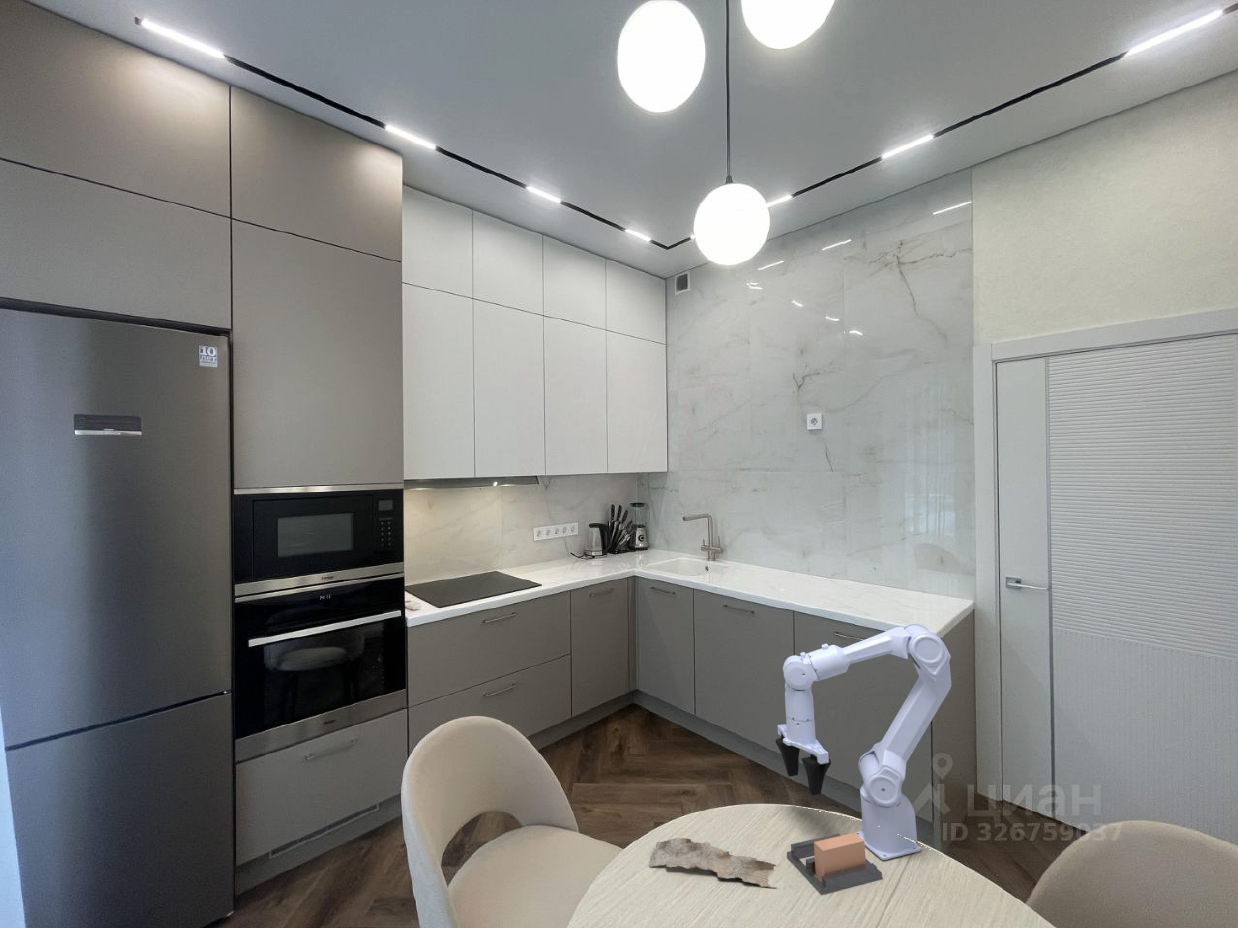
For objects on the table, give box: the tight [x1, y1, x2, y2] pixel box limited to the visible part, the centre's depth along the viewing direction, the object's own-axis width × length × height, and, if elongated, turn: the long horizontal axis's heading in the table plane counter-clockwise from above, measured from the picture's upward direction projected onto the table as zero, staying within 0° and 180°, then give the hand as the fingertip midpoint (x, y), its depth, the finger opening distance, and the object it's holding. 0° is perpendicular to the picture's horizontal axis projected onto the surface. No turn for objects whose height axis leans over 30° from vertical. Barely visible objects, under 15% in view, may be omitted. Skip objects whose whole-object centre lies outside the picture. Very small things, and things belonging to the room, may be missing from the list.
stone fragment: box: [648, 837, 779, 890], centre depth 94 cm, size 25×3×10 cm
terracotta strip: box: [814, 832, 867, 883], centre depth 91 cm, size 9×2×6 cm, turn 106°
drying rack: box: [786, 833, 883, 896], centre depth 92 cm, size 13×10×2 cm
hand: (803, 783), depth 104 cm, fingers open, 7 cm apart
